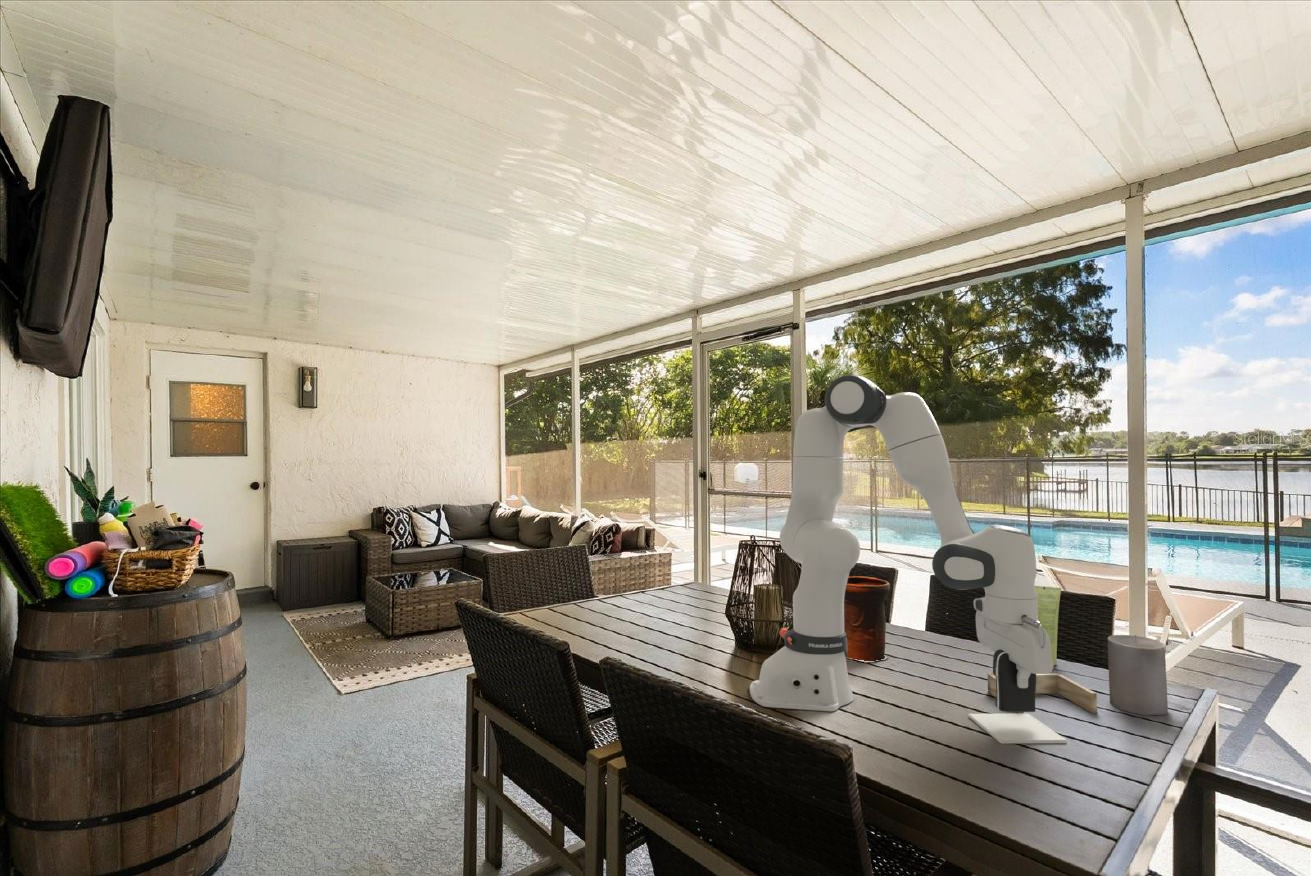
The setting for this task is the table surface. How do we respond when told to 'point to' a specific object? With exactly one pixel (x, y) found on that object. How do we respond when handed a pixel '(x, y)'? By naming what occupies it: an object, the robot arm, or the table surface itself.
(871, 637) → the vessel
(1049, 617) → the tube
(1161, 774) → the table surface
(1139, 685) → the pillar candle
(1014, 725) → the mat
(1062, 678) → the bay
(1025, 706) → the battery charger
